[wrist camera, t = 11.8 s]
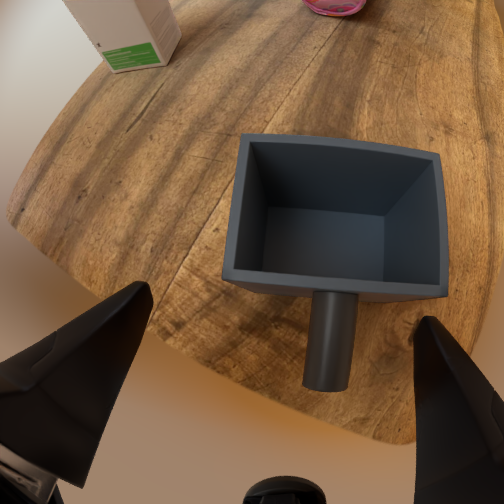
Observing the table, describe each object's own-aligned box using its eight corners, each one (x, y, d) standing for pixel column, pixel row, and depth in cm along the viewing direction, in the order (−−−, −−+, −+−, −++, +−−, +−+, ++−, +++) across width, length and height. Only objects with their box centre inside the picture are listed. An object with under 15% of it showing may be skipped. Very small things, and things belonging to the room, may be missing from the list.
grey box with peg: (378, 362, 20) (435, 396, 10) (246, 352, 21) (209, 384, 12) (387, 213, 22) (439, 153, 12) (263, 202, 23) (241, 132, 14)
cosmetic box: (113, 75, 29) (50, -6, 14) (132, 42, 30) (83, -36, 15) (170, 66, 28) (113, -37, 13) (186, 33, 29) (145, -61, 14)
